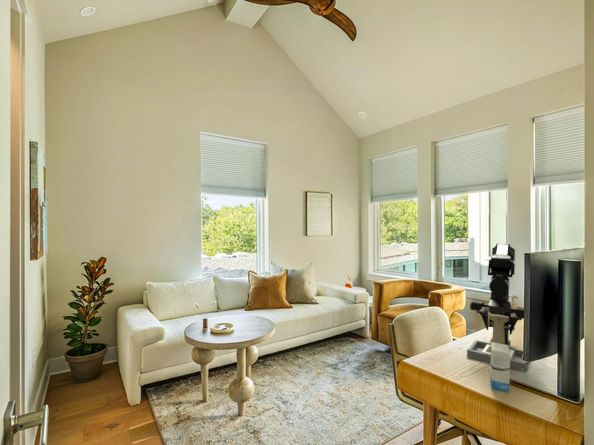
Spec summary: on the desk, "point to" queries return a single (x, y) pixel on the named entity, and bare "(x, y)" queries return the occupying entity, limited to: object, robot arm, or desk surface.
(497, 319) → the handle
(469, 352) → the walled box
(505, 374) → the ink box
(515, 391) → the desk surface
